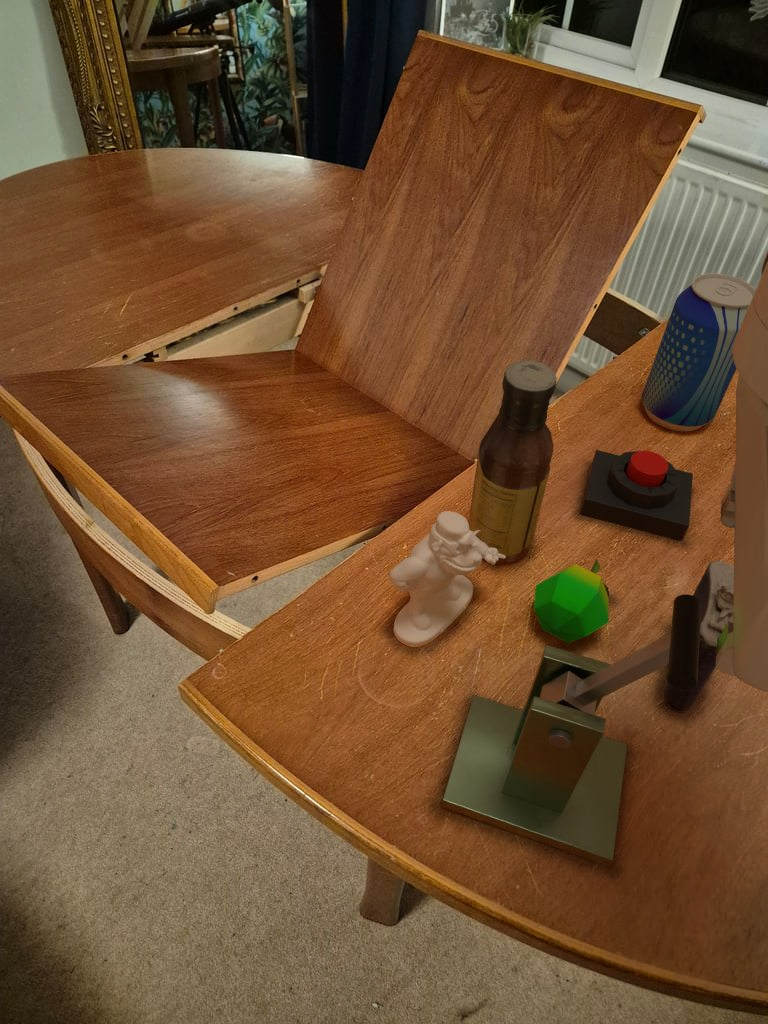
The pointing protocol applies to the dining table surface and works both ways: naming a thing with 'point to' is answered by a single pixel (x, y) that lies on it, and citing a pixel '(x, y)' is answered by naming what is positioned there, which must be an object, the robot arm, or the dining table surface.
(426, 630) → the figurine
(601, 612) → the apple
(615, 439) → the dining table surface
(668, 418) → the beer can
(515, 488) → the sauce bottle
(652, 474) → the button
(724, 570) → the eggplant half
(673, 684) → the lever
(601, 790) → the bracket
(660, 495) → the control block
